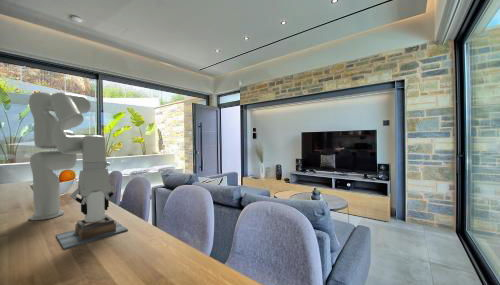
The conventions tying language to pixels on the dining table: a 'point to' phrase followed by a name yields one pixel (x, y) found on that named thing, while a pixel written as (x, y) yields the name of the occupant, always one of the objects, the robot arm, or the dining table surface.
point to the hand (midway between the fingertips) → (95, 211)
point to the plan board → (77, 241)
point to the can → (95, 207)
